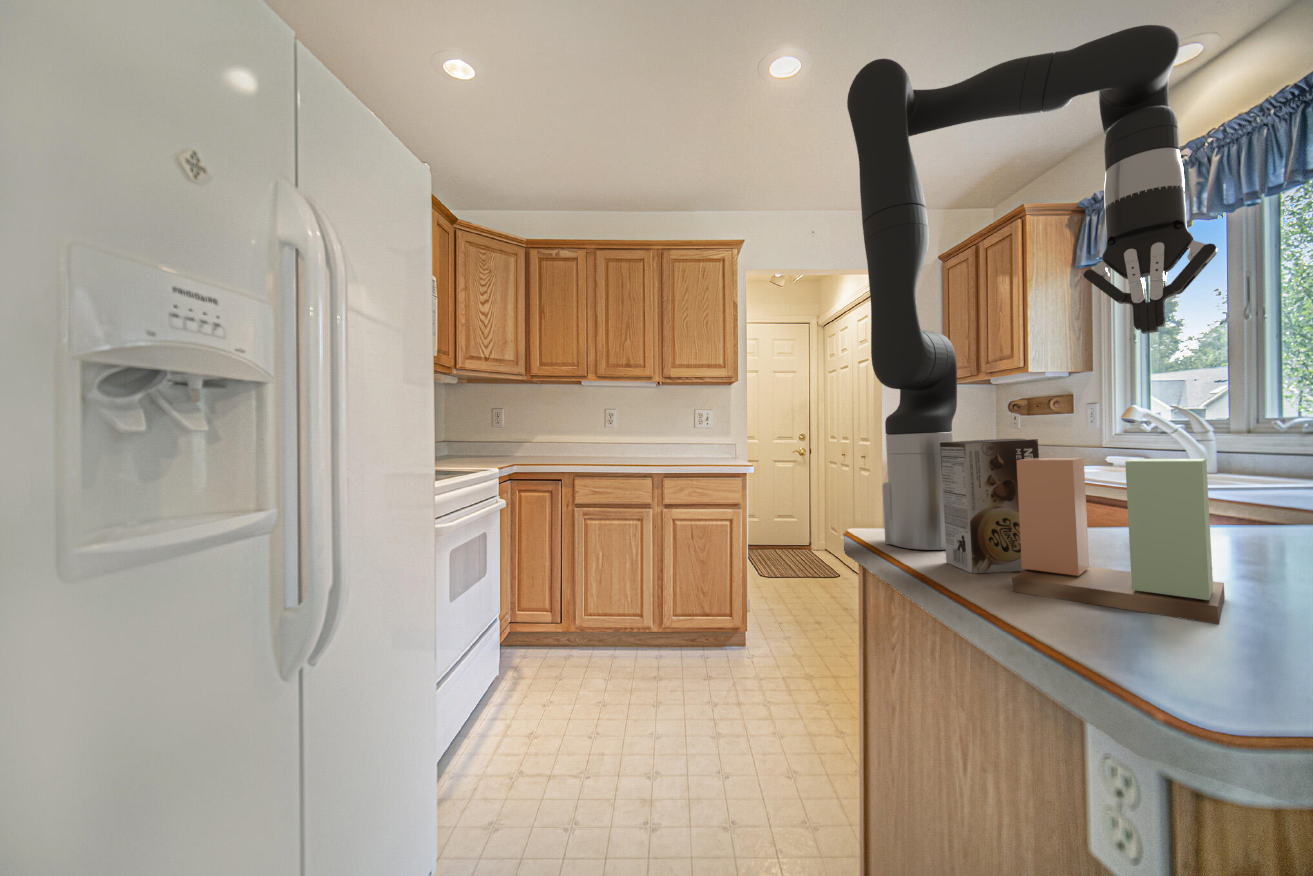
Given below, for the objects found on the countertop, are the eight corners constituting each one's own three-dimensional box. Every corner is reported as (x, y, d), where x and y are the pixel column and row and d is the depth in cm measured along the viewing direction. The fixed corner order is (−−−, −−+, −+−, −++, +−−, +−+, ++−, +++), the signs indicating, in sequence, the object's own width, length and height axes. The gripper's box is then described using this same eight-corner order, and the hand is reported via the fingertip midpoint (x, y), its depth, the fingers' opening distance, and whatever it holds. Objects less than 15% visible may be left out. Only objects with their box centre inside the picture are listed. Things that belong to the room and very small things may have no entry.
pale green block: (1131, 589, 49) (1125, 461, 49) (1140, 579, 52) (1134, 458, 53) (1209, 600, 45) (1202, 461, 46) (1213, 588, 49) (1206, 458, 49)
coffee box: (1012, 559, 70) (1006, 438, 70) (1048, 571, 63) (1041, 437, 64) (943, 562, 70) (937, 441, 70) (971, 574, 64) (965, 440, 64)
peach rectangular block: (1021, 568, 58) (1016, 460, 58) (1034, 560, 62) (1029, 458, 62) (1078, 575, 55) (1072, 460, 55) (1089, 567, 58) (1083, 457, 58)
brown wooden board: (1012, 591, 56) (1012, 577, 56) (1039, 573, 63) (1038, 561, 63) (1218, 624, 45) (1217, 606, 45) (1224, 598, 51) (1223, 582, 51)
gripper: (1071, 208, 70) (1078, 338, 70) (1216, 166, 60) (1224, 317, 60) (1084, 222, 75) (1090, 344, 75) (1220, 185, 65) (1227, 325, 65)
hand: (1150, 332), depth 67 cm, fingers closed
